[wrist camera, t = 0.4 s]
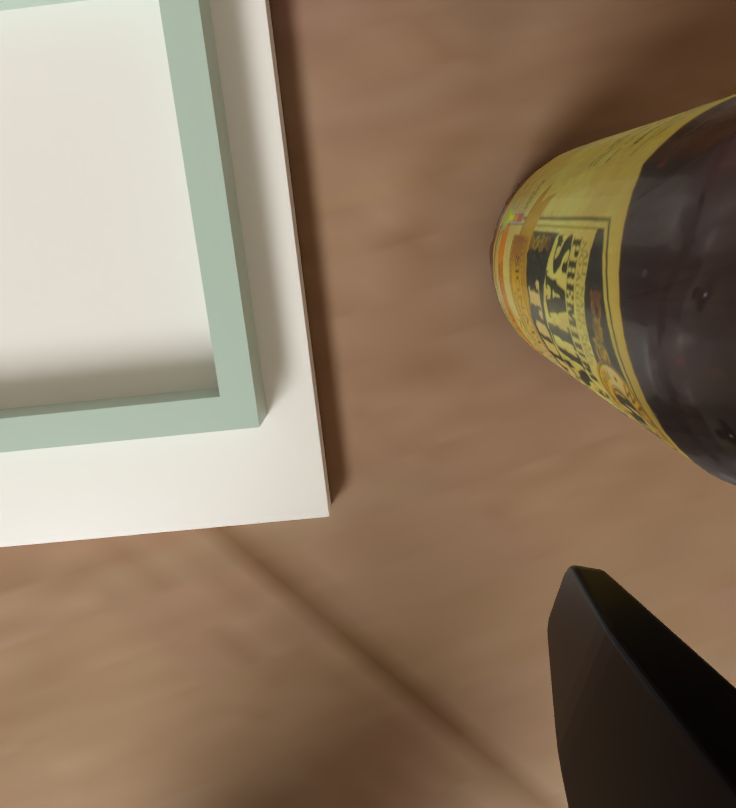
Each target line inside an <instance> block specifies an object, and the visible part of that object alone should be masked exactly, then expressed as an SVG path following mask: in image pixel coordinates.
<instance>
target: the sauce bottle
mask: <svg viewBox="0 0 736 808" xmlns="http://www.w3.org/2000/svg"><path fill="white" fill-rule="evenodd" d="M490 263H491V270H492V279H493V281H494V284H495V287H496V291H497V295H498V299H499V302H500V305H501V306H502V309H503V311H504V313H505V315H506V316H507V318H508V320H509V321H510V323H511V324H512V326H513V327H514V329H515V330H516V331H517V332H518V334H519V335H520V336H521V337H522V338H523V339H524V340H525V341H526V342H527V343H528V344H529V345H530V346H531V347H532V348H534V349H535V350H536V351H538V352H539V353H541V354H542V355H544V356H545V357H546V358H548V359H549V360H551V361H552V362H553V363H555V364H556V365H558V366H559V367H560V368H562V369H563V370H565V371H566V372H567V373H569V374H570V375H572V376H573V377H574V378H576V379H577V380H578V381H580V382H581V383H582V384H584V385H585V386H586V387H588V388H589V389H591V390H593V391H594V392H595V393H596V394H598V395H599V396H600V397H602V398H603V399H605V400H606V401H607V402H609V403H610V404H612V405H613V406H614V407H616V408H617V409H618V410H619V411H621V412H622V413H623V414H625V415H626V416H628V417H630V418H632V419H633V420H635V421H636V422H638V423H639V424H640V425H642V426H643V427H645V428H646V429H648V430H649V431H650V432H652V433H653V434H655V435H656V436H658V437H659V438H660V439H662V440H663V441H665V442H666V443H667V444H669V445H670V446H671V447H673V448H674V449H675V450H677V451H678V452H679V453H681V454H682V455H683V456H685V457H686V458H688V459H689V460H691V461H692V462H694V463H695V464H697V465H698V466H700V467H701V468H703V469H704V470H706V471H707V472H709V473H710V474H712V475H714V476H716V477H717V478H719V479H721V480H723V481H725V482H728V483H731V484H733V485H736V94H735V95H732V96H729V97H726V98H723V99H720V100H717V101H714V102H711V103H708V104H705V105H702V106H699V107H696V108H693V109H691V110H688V111H685V112H682V113H679V114H676V115H673V116H671V117H668V118H665V119H662V120H659V121H656V122H653V123H650V124H647V125H643V126H640V127H637V128H634V129H631V130H628V131H625V132H622V133H619V134H615V135H612V136H609V137H606V138H603V139H600V140H597V141H594V142H591V143H589V144H586V145H583V146H580V147H577V148H575V149H572V150H570V151H568V152H565V153H563V154H561V155H559V156H557V157H555V158H554V159H552V160H551V161H550V162H548V163H547V164H545V165H544V166H543V167H541V168H540V169H539V170H537V171H536V172H535V173H534V174H533V175H531V176H530V177H528V178H527V179H526V180H524V181H523V182H522V183H520V185H519V186H518V188H517V189H516V190H515V192H514V193H513V195H512V196H511V197H510V198H509V199H508V200H507V202H506V205H505V207H504V209H503V211H502V214H501V216H500V218H499V221H498V223H497V228H496V230H495V234H494V239H493V242H492V244H491V246H490Z"/></svg>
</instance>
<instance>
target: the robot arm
mask: <svg viewBox="0 0 736 808" xmlns="http://www.w3.org/2000/svg"><path fill="white" fill-rule="evenodd" d="M548 646H549V658H550V670H551V681H552V693H553V705H554V717H555V728H556V738H557V747H558V754H559V760H560V766H561V772H562V777H563V782H564V787H565V792H566V797H567V802H568V807H569V808H736V688H735V687H734V686H733V685H732V684H730V683H729V682H728V681H727V680H726V679H725V678H724V677H723V676H722V675H720V674H719V673H718V672H717V671H716V670H715V669H714V668H713V667H711V666H710V665H709V664H708V663H707V662H706V661H705V660H704V659H702V658H701V657H700V656H699V655H698V654H697V653H696V652H695V651H693V650H692V649H691V648H690V647H689V646H688V645H687V644H686V643H684V642H683V641H682V640H681V639H680V638H679V637H678V636H677V635H676V634H674V633H673V632H672V631H671V630H670V629H669V628H668V627H667V626H665V625H664V624H663V623H662V622H661V621H660V620H659V619H658V618H656V617H655V616H654V615H653V614H652V613H651V612H650V611H649V610H647V609H646V608H645V607H644V606H643V605H642V604H641V603H640V602H639V601H637V600H636V599H635V598H634V597H633V596H632V595H631V594H630V593H628V592H627V591H626V590H625V589H624V588H623V587H622V586H621V585H619V584H618V583H617V582H616V581H615V580H614V579H613V578H612V577H610V576H609V575H608V574H607V573H606V572H604V571H603V570H600V569H594V568H588V567H582V566H576V565H574V566H571V567H570V568H568V570H567V571H566V572H565V574H564V577H563V580H562V582H561V585H560V588H559V591H558V594H557V597H556V599H555V602H554V605H553V608H552V611H551V613H550V617H549V621H548Z"/></svg>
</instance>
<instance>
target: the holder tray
mask: <svg viewBox="0 0 736 808" xmlns="http://www.w3.org/2000/svg"><path fill="white" fill-rule="evenodd" d="M330 509H331V499H330V491H329V483H328V475H327V467H326V459H325V451H324V443H323V434H322V426H321V418H320V410H319V402H318V394H317V386H316V378H315V370H314V361H313V353H312V345H311V337H310V329H309V321H308V313H307V305H306V296H305V288H304V280H303V272H302V264H301V256H300V248H299V240H298V232H297V223H296V215H295V207H294V199H293V191H292V183H291V175H290V167H289V159H288V150H287V142H286V134H285V126H284V118H283V110H282V102H281V94H280V86H279V77H278V69H277V61H276V53H275V45H274V37H273V29H272V21H271V12H270V4H269V0H0V547H6V546H17V545H28V544H39V543H50V542H60V541H71V540H82V539H93V538H103V537H114V536H125V535H136V534H146V533H157V532H168V531H179V530H189V529H200V528H211V527H222V526H232V525H243V524H254V523H265V522H275V521H286V520H297V519H308V518H318V517H329V515H330Z"/></svg>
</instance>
